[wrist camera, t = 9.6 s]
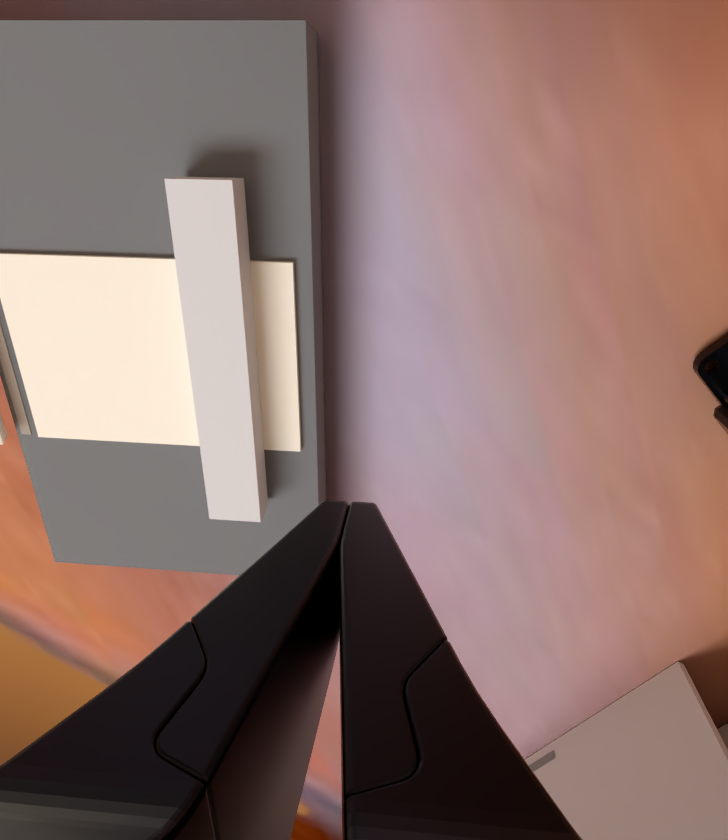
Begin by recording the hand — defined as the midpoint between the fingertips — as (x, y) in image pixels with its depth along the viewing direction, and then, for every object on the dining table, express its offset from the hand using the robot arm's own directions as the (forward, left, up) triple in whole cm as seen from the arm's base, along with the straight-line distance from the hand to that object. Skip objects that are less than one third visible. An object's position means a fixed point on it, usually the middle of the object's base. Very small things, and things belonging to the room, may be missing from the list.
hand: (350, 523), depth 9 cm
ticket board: (+7, -5, -13) cm, 16 cm away
